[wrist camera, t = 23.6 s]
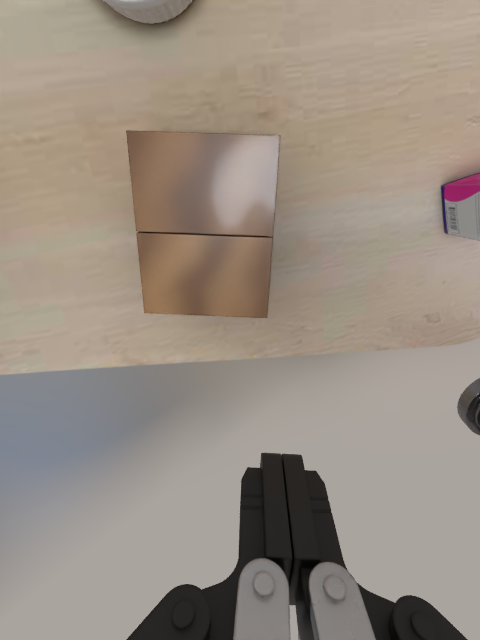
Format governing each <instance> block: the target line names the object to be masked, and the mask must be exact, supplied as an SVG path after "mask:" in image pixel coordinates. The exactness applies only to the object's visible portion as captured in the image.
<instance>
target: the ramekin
mask: <svg viewBox="0 0 480 640" xmlns="http://www.w3.org/2000/svg"><path fill="white" fill-rule="evenodd" d="M102 1H104V2H105V3H107V4H108V5H109V6H110V7H112V8H113V9H114V10H115V11H117V12H118V13H120V14H122V15H124V16H125V17H127V18H130V19H132V20H134V21H140V22H142V23H150V24H153V23H161V22H163V21H168V20H169V19H172V18H175V17H176V16H177V15H179V14H181V13H182V11H183V10H185V9H186V8H187V6H188V5H189V4H190V3H191V2H192V0H102Z"/></svg>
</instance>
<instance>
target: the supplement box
mask: <svg viewBox="0 0 480 640" xmlns="http://www.w3.org/2000/svg"><path fill="white" fill-rule="evenodd" d="M442 199H443V211H444V223H445V233H447V234H451V235H456V236H461V237H465V238H469V239H474V240H478V241H480V173H477V174H474V175H471V176H468V177H465V178H462V179H459V180H456V181H453V182H450V183H447V184H445V185H443V186H442Z"/></svg>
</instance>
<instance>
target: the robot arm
mask: <svg viewBox="0 0 480 640" xmlns="http://www.w3.org/2000/svg"><path fill="white" fill-rule="evenodd" d="M474 420H475V423H476V424H477V426H478V427H479V428H480V402H479V404H478V405H477V407H476V409H475V412H474ZM240 504H241V505H240V531H239V559H238V563H237V565H236V568H235V569H234V571H233V572H232V574H231V575H230V576H229V577H228V578H227V579H226V580H224V581H223V582H221V583H219V584H216V585H213V586H211V587H208V588H205V589H202V590H201V589H200V588H198V587H197V586H194V585H190V584H185V585H180V586H177V587H175V588H174V589H172V590H171V591H170V592H169V593H167V594H166V596H165V597H164V598H163V599H162V600H161V601H160V602H159V604H158V605H157V606H156V607H155V608H154V609H153V610H152V611H151V613H150V614H149V615H148V616H147V617H146V618H145V619H144V620H143V622H142V623H141V624H140V625H139V626H138V627H137V629H135V631H134V632H133V633H132V634H131V635H130V636H129V637H128V639H127V640H290V611H289V610H290V609H289V605H296V614H297V623H298V639H299V640H467V639H466V638H465V637H464V636H463V635H462V634H461V633H460V632H459V631H458V630H457V629H456V628H455V627H454V626H453V625H452V624H451V623H450V622H449V621H448V620H447V619H446V618H444V616H442V615H441V614H440V612H438V611H437V610H436V609H435V608H434V607H433V606H432V605H431V604H429V603H428V602H427V601H425V600H423V599H421V598H419V597H416V596H411V595H410V596H403V597H401V598H399V599H398V600H397V602H396V603H394V602H392V601H389V600H387V599H385V598H382V597H380V596H378V595H376V594H373V593H371V592H369V591H367V590H366V589H364V588H363V587H361V586H360V585H359V584H358V583H357V582H356V581H355V579H354V578H353V576H352V575H351V574H350V573H349V572H348V570H347V568H346V566H345V564H344V561H343V557H342V553H341V549H340V545H339V541H338V537H337V532H336V528H335V524H334V520H333V516H332V513H331V508H330V504H329V501H328V496H327V491H326V488H325V484H324V482H323V481H322V479H321V478H320V476H319V475H318V473H317V472H316V471H307V470H304V464H303V459H302V456H301V455H295V454H282V455H281V454H276V453H261V463H260V468H249V467H248V468H247V470H246V472H245V474H244V476H243V478H242V481H241V502H240Z"/></svg>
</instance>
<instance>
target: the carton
mask: <svg viewBox="0 0 480 640" xmlns="http://www.w3.org/2000/svg"><path fill="white" fill-rule="evenodd" d="M126 133H127V143H128V153H129V163H130V173H131V183H132V193H133V203H134V213H135V223H136V231H138V232H140V233H167V234H193V235H220V236H247V237H272V238H273V230H274V216H275V202H276V188H277V174H278V160H279V146H280V135H250V134H219V133H187V132H156V131H126Z"/></svg>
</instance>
